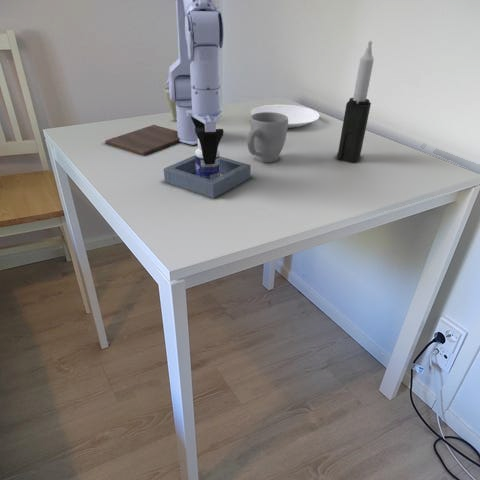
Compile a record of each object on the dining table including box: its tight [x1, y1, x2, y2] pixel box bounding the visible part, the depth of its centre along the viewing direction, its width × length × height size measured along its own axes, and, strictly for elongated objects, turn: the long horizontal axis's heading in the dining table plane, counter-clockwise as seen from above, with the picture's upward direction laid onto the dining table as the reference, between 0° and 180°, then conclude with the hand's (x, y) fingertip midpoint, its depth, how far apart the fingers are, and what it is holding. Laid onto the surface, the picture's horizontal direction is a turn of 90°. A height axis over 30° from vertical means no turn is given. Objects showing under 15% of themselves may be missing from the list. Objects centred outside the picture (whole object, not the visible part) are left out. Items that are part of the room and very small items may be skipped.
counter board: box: [104, 124, 180, 156], centre depth 114 cm, size 18×14×1 cm
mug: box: [246, 112, 289, 163], centre depth 102 cm, size 12×9×10 cm
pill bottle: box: [194, 139, 221, 180], centre depth 92 cm, size 5×5×9 cm
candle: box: [336, 40, 375, 163], centre depth 99 cm, size 5×5×25 cm
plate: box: [250, 103, 320, 129], centre depth 130 cm, size 21×21×2 cm
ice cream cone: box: [163, 63, 177, 122], centre depth 124 cm, size 5×5×15 cm
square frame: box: [163, 154, 252, 199], centre depth 94 cm, size 14×14×3 cm
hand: (207, 157), depth 91 cm, fingers open, 7 cm apart
